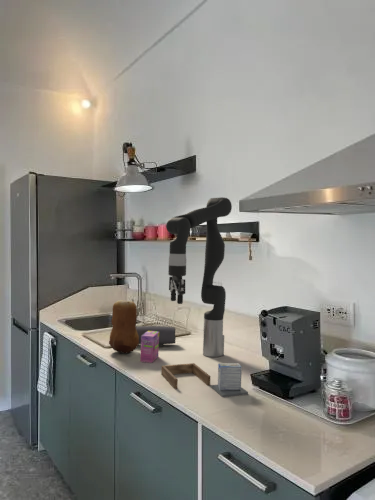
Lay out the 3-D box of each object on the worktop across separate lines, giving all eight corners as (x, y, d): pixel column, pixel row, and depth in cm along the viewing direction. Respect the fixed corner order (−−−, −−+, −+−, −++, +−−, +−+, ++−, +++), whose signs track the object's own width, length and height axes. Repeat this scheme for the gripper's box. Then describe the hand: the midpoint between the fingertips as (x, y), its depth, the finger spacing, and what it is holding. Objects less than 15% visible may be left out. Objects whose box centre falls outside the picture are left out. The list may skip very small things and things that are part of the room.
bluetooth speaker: (130, 347, 206) (130, 327, 206) (130, 343, 216) (131, 324, 216) (175, 347, 209) (175, 328, 208) (174, 343, 218) (174, 324, 218)
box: (152, 363, 181) (153, 336, 181) (140, 361, 182) (140, 335, 182) (158, 356, 191) (159, 331, 191) (147, 355, 193) (147, 330, 192)
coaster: (235, 384, 156) (235, 382, 156) (248, 394, 147) (248, 392, 147) (211, 387, 153) (211, 385, 153) (222, 397, 143) (222, 394, 143)
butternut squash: (134, 348, 206) (135, 298, 205) (141, 355, 193) (142, 301, 193) (106, 349, 201) (108, 298, 200) (111, 357, 188) (113, 302, 188)
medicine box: (238, 386, 152) (239, 362, 152) (241, 390, 148) (242, 366, 148) (217, 386, 152) (218, 362, 151) (219, 390, 147) (220, 366, 147)
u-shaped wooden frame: (193, 371, 171) (194, 363, 171) (210, 385, 155) (210, 376, 155) (161, 374, 166) (161, 365, 166) (174, 388, 150) (174, 379, 150)
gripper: (191, 265, 171) (190, 304, 171) (180, 263, 184) (179, 299, 184) (174, 265, 168) (173, 305, 168) (163, 263, 181) (163, 300, 182)
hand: (176, 302), depth 176 cm, fingers open, 8 cm apart
